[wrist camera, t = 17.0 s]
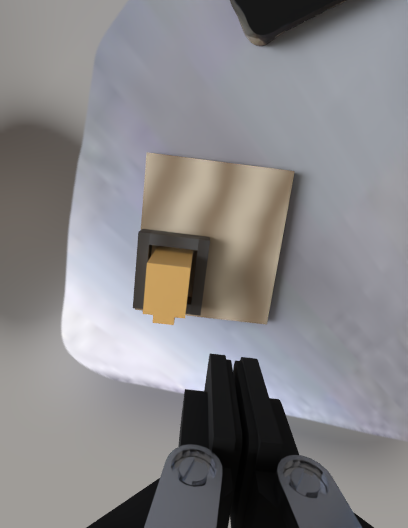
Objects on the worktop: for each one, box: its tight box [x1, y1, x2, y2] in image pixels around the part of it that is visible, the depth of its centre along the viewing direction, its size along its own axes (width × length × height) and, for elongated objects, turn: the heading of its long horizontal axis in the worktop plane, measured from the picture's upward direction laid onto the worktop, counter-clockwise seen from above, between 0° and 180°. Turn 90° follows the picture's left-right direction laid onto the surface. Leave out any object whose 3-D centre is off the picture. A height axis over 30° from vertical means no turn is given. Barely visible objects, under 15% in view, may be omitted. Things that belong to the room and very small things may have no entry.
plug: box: [143, 246, 193, 325], centre depth 35 cm, size 4×6×8 cm
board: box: [133, 153, 295, 324], centre depth 38 cm, size 16×18×4 cm
